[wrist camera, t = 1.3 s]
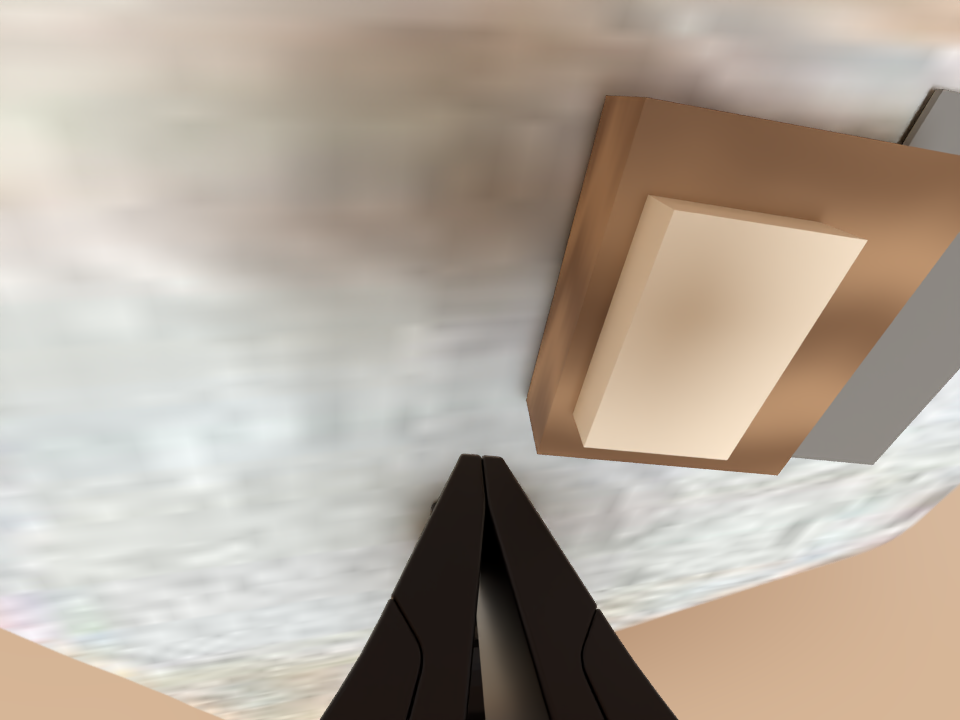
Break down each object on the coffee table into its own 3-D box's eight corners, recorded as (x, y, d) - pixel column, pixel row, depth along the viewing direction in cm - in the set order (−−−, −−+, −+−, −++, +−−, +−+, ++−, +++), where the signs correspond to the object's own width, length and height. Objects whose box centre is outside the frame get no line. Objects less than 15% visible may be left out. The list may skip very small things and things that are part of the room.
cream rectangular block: (703, 426, 19) (727, 460, 17) (572, 414, 18) (583, 447, 17) (819, 222, 14) (867, 240, 12) (647, 194, 13) (674, 209, 12)
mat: (869, 461, 26) (873, 464, 26) (718, 446, 25) (720, 450, 25) (1158, 134, 17) (1169, 135, 16) (935, 89, 16) (943, 89, 15)
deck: (733, 421, 24) (777, 475, 21) (526, 400, 23) (537, 454, 19) (899, 149, 17) (1009, 164, 13) (606, 95, 15) (646, 97, 12)
